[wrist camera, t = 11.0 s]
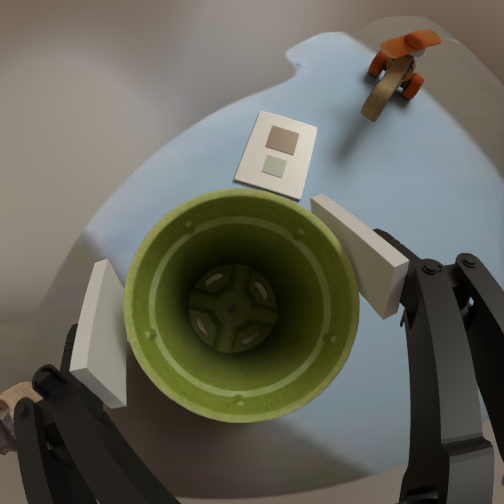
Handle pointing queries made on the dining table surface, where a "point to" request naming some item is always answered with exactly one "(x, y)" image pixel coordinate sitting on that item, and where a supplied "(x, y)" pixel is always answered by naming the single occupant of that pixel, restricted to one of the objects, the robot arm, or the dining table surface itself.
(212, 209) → the plant pot
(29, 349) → the dining table surface
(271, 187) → the page
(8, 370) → the dining table surface
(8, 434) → the figurine
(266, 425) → the dining table surface
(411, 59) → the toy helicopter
